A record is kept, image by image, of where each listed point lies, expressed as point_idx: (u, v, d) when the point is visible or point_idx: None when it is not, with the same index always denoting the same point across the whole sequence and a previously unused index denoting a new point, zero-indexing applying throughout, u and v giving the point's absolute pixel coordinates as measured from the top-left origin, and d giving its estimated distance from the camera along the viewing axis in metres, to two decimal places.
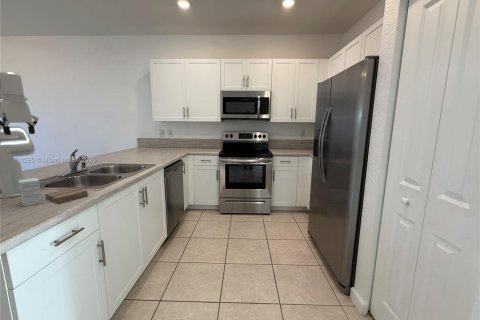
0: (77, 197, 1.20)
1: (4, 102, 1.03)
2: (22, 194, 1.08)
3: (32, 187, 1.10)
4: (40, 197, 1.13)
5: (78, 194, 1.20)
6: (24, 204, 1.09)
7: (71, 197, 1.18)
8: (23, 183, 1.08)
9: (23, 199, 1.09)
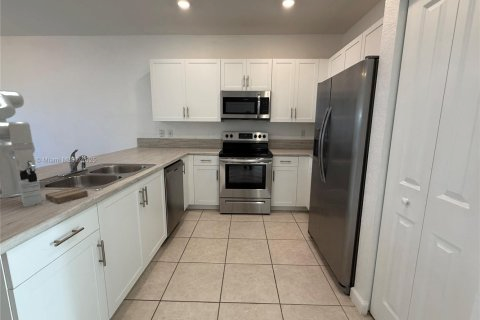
0: (77, 197, 1.20)
1: (29, 151, 1.07)
2: (22, 194, 1.08)
3: (32, 187, 1.10)
4: (40, 197, 1.13)
5: (78, 194, 1.20)
6: (24, 204, 1.09)
7: (71, 197, 1.18)
8: (23, 183, 1.08)
9: (23, 199, 1.09)
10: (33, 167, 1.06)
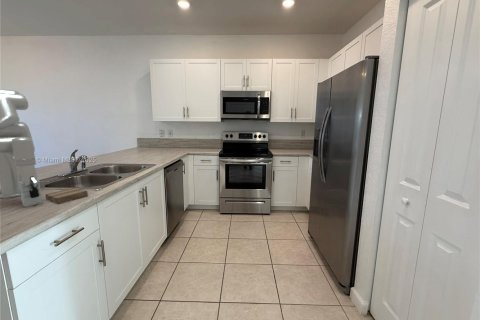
0: (77, 197, 1.20)
1: (31, 167, 1.09)
2: (22, 194, 1.08)
3: None
4: (40, 197, 1.13)
5: (78, 194, 1.20)
6: (24, 204, 1.09)
7: (71, 197, 1.18)
8: (23, 183, 1.08)
9: (23, 199, 1.08)
10: (35, 184, 1.08)
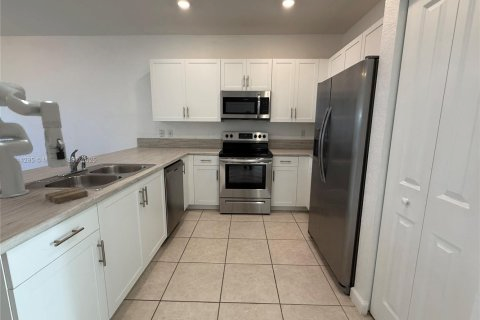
0: (77, 197, 1.20)
1: (58, 129, 1.13)
2: (49, 155, 1.12)
3: None
4: (66, 160, 1.17)
5: (78, 194, 1.20)
6: (51, 165, 1.13)
7: (71, 197, 1.18)
8: (50, 145, 1.12)
9: (50, 160, 1.13)
10: (62, 145, 1.12)
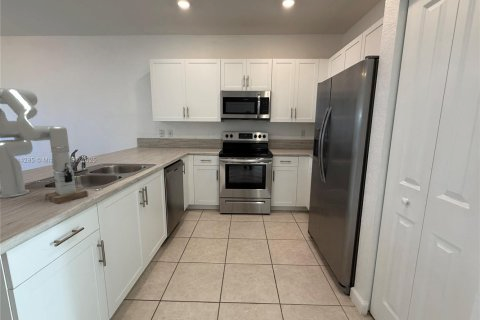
0: (77, 197, 1.20)
1: (66, 154, 1.16)
2: (59, 183, 1.16)
3: None
4: (74, 186, 1.21)
5: (78, 194, 1.20)
6: (61, 193, 1.17)
7: (71, 197, 1.18)
8: (60, 173, 1.16)
9: (60, 188, 1.16)
10: (70, 169, 1.15)
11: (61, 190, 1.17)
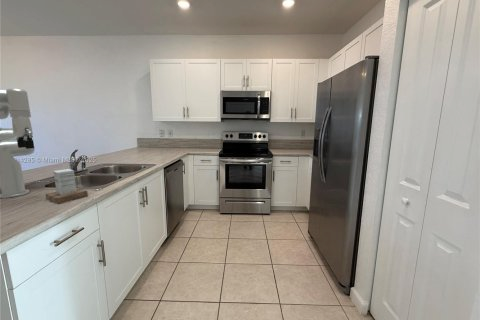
0: (77, 197, 1.20)
1: (26, 118, 1.10)
2: (60, 183, 1.16)
3: (68, 176, 1.18)
4: (75, 186, 1.21)
5: (78, 194, 1.20)
6: (61, 193, 1.17)
7: (71, 197, 1.18)
8: (61, 173, 1.16)
9: (60, 188, 1.16)
10: (30, 133, 1.09)
11: (62, 190, 1.17)
